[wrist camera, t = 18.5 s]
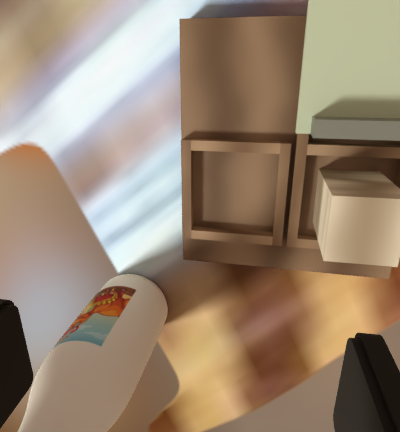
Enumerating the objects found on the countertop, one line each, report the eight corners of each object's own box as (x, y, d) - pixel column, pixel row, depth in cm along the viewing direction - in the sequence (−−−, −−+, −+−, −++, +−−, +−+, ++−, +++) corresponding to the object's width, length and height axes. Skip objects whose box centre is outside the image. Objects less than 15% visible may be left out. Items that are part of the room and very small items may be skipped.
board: (188, 249, 35) (181, 264, 32) (185, 22, 28) (176, 16, 25) (382, 267, 32) (392, 285, 29) (436, 16, 25) (456, 8, 22)
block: (312, 221, 30) (323, 261, 23) (318, 168, 28) (332, 195, 22) (370, 225, 29) (397, 267, 22) (379, 171, 27) (412, 199, 21)
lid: (295, 131, 26) (297, 137, 24) (309, -9, 23) (313, -20, 20) (427, 135, 25) (445, 142, 22) (462, -15, 21) (488, -28, 19)
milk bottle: (173, 280, 37) (73, 479, 18) (165, 338, 40) (73, 559, 21) (103, 264, 38) (-57, 438, 19) (101, 322, 41) (-39, 520, 22)
